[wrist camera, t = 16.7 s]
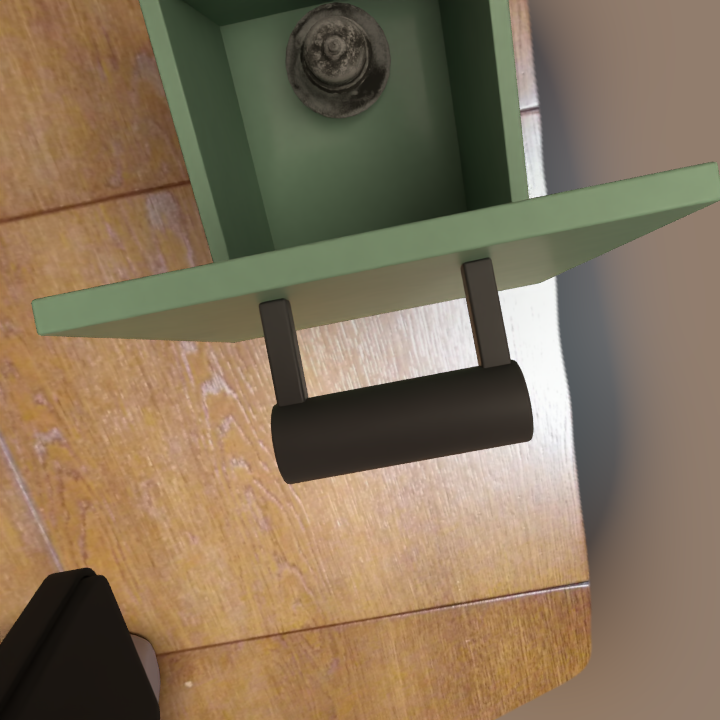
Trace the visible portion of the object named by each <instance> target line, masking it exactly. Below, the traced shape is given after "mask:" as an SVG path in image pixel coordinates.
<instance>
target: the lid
mask: <svg viewBox="0 0 720 720" xmlns="http://www.w3.org/2000/svg"><path fill="white" fill-rule="evenodd" d="M719 200H720V176H719V170H718V165H717V163H716V162H708V163H703V164H699V165H694V166H689V167H684V168H679V169H674V170H669V171H664V172H659V173H654V174H649V175H645V176H640V177H635V178H630V179H625V180H620V181H615V182H610V183H605V184H600V185H596V186H590V187H585V188H580V189H576V190H571V191H566V192H561V193H556V194H551V195H546V196H541V197H536V198H531V199H526V200H521V201H516V202H511V203H506V204H502V205H497V206H492V207H487V208H482V209H477V210H472V211H467V212H462V213H457V214H452V215H447V216H442V217H437V218H433V219H428V220H423V221H418V222H413V223H408V224H403V225H398V226H393V227H388V228H383V229H378V230H373V231H369V232H364V233H359V234H354V235H349V236H344V237H339V238H334V239H329V240H324V241H319V242H314V243H309V244H304V245H300V246H295V247H290V248H285V249H280V250H275V251H270V252H265V253H260V254H255V255H250V256H245V257H240V258H236V259H231V260H226V261H221V262H216V263H211V264H206V265H201V266H196V267H191V268H186V269H181V270H176V271H171V272H167V273H162V274H157V275H152V276H147V277H142V278H137V279H132V280H127V281H122V282H117V283H112V284H107V285H102V286H98V287H93V288H88V289H83V290H78V291H73V292H68V293H63V294H58V295H53V296H48V297H43V298H38V299H34V300H33V301H32V303H31V304H32V309H33V314H34V319H35V324H36V329H37V333H38V335H41V336H66V337H93V338H121V339H148V340H175V341H202V342H230V343H235V342H240V341H245V340H250V339H255V338H260V337H264V338H265V343H266V348H267V353H268V359H269V364H270V369H271V374H272V379H273V385H274V390H275V395H276V400H277V404H276V405H274V406H273V409H272V414H271V433H272V442H273V448H274V453H275V457H276V461H277V465H278V468H279V471H280V473H281V476H282V477H283V479H284V481H285V482H286V483H287V484H294V483H300V482H305V481H311V480H316V479H322V478H328V477H333V476H339V475H344V474H350V473H355V472H361V471H366V470H372V469H378V468H383V467H389V466H394V465H400V464H405V463H411V462H416V461H422V460H427V459H433V458H439V457H444V456H450V455H455V454H461V453H466V452H472V451H477V450H483V449H489V448H494V447H500V446H505V445H511V444H516V443H522V442H527V441H530V440H531V439H532V436H533V415H532V408H531V402H530V398H529V393H528V389H527V386H526V382H525V379H524V376H523V373H522V371H521V369H520V367H519V365H518V364H517V362H516V361H515V360H511V359H510V354H509V348H508V343H507V338H506V333H505V327H504V322H503V317H502V312H501V306H500V301H499V296H498V291H502V290H507V289H512V288H517V287H522V286H527V285H532V284H537V283H541V282H543V281H545V280H548V279H550V278H552V277H554V276H556V275H558V274H560V273H563V272H565V271H567V270H569V269H571V268H574V267H576V266H578V265H580V264H582V263H585V262H587V261H589V260H591V259H593V258H595V257H598V256H600V255H602V254H604V253H606V252H609V251H611V250H613V249H615V248H617V247H619V246H622V245H624V244H626V243H628V242H630V241H632V240H635V239H637V238H639V237H641V236H643V235H645V234H648V233H650V232H652V231H654V230H656V229H659V228H661V227H663V226H665V225H667V224H670V223H672V222H674V221H676V220H678V219H680V218H683V217H685V216H687V215H689V214H691V213H693V212H696V211H698V210H700V209H702V208H704V207H707V206H709V205H711V204H713V203H715V202H718V201H719ZM460 298H466V301H467V307H468V312H469V317H470V323H471V328H472V333H473V338H474V344H475V349H476V354H477V359H478V365H479V366H475V367H470V368H465V369H460V370H454V371H449V372H444V373H438V374H433V375H428V376H422V377H417V378H412V379H406V380H401V381H396V382H390V383H385V384H380V385H374V386H369V387H364V388H358V389H353V390H348V391H343V392H337V393H332V394H327V395H321V396H316V397H311V398H308V393H307V388H306V382H305V377H304V372H303V367H302V361H301V356H300V351H299V346H298V341H297V335H296V330H301V329H307V328H312V327H317V326H322V325H327V324H332V323H337V322H342V321H348V320H353V319H358V318H363V317H368V316H373V315H378V314H383V313H389V312H394V311H399V310H404V309H409V308H414V307H419V306H425V305H430V304H435V303H440V302H445V301H450V300H455V299H460Z"/></svg>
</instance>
